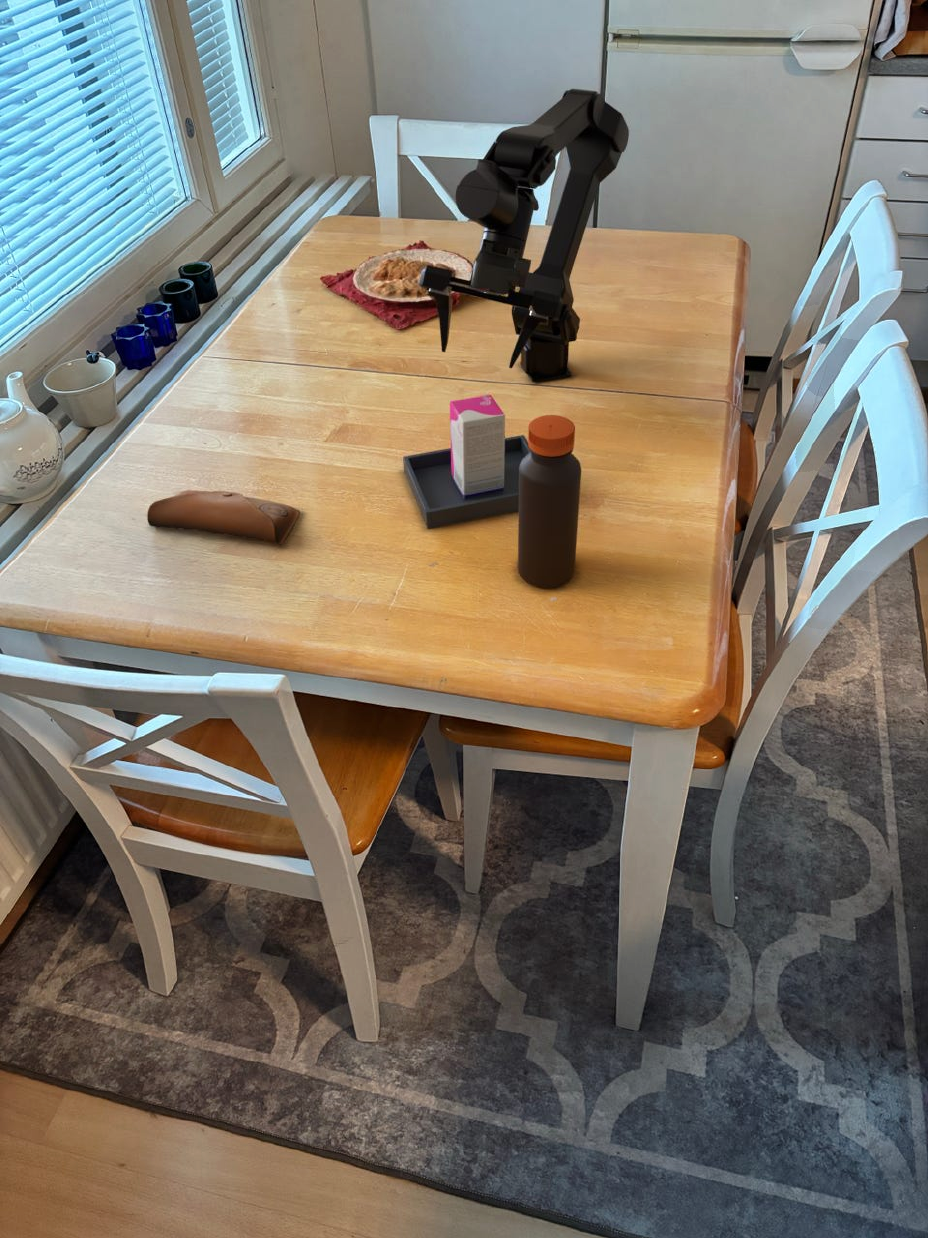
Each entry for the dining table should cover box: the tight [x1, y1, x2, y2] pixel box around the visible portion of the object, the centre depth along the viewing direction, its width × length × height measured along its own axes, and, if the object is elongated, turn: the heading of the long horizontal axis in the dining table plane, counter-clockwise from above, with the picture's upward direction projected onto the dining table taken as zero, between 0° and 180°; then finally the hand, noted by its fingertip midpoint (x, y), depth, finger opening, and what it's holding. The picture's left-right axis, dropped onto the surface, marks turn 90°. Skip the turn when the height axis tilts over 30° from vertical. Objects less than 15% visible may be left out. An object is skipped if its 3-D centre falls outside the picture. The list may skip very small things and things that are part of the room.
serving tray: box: [402, 434, 530, 530], centre depth 125 cm, size 17×13×3 cm
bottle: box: [517, 414, 582, 589], centre depth 106 cm, size 7×7×20 cm
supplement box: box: [449, 394, 506, 499], centre depth 122 cm, size 6×6×12 cm
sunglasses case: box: [146, 489, 301, 545], centre depth 121 cm, size 18×7×7 cm
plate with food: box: [319, 239, 488, 330], centre depth 171 cm, size 24×26×4 cm
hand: (476, 359), depth 126 cm, fingers open, 9 cm apart
